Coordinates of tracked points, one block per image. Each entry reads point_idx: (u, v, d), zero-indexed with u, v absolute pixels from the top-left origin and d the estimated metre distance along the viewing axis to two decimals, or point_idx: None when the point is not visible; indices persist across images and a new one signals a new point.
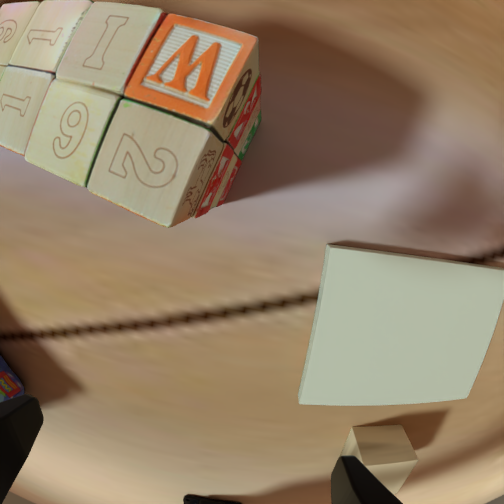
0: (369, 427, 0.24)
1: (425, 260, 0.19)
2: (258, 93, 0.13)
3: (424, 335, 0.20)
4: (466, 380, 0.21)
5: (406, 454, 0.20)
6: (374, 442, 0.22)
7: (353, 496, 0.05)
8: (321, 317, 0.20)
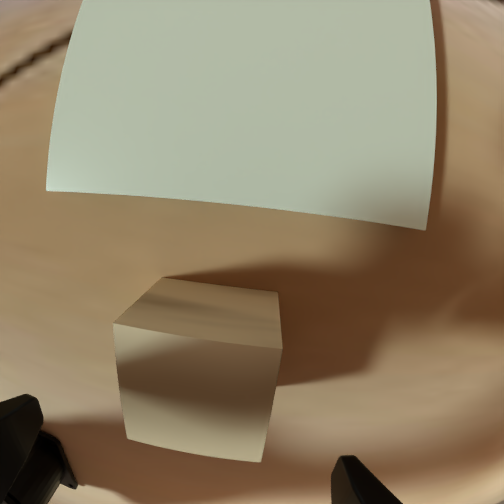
0: (198, 283, 0.13)
1: None
2: None
3: (254, 41, 0.10)
4: (409, 175, 0.11)
5: (251, 332, 0.09)
6: (185, 299, 0.11)
7: (353, 496, 0.05)
8: (74, 36, 0.10)
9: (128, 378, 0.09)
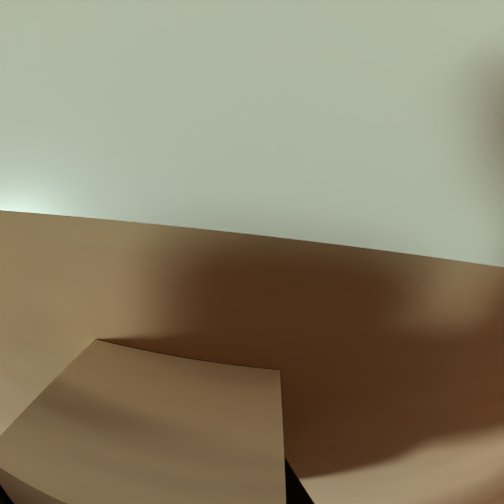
0: (146, 356, 0.07)
1: None
2: None
3: None
4: None
5: (225, 502, 0.04)
6: (114, 401, 0.06)
7: None
8: None
9: None
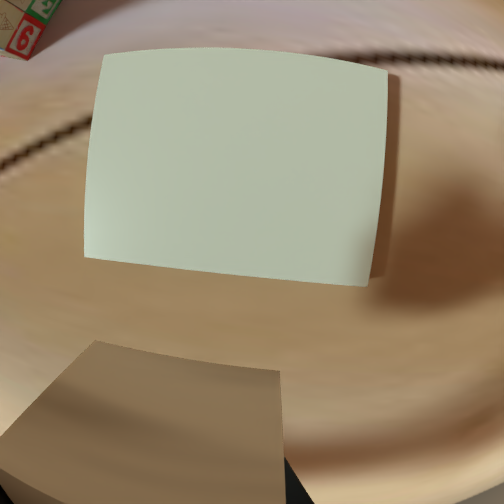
0: (146, 356, 0.07)
1: (220, 49, 0.14)
2: None
3: (238, 148, 0.15)
4: (355, 248, 0.16)
5: (225, 503, 0.04)
6: (114, 401, 0.06)
7: None
8: (94, 129, 0.15)
9: None
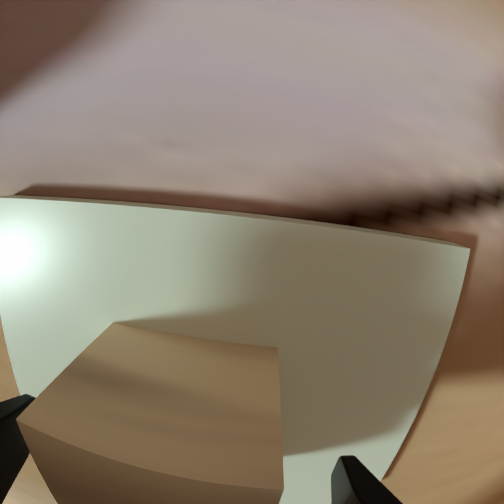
0: (160, 335, 0.09)
1: (162, 210, 0.08)
2: None
3: None
4: None
5: (231, 449, 0.05)
6: (134, 371, 0.07)
7: (353, 496, 0.05)
8: (4, 319, 0.09)
9: (56, 483, 0.04)
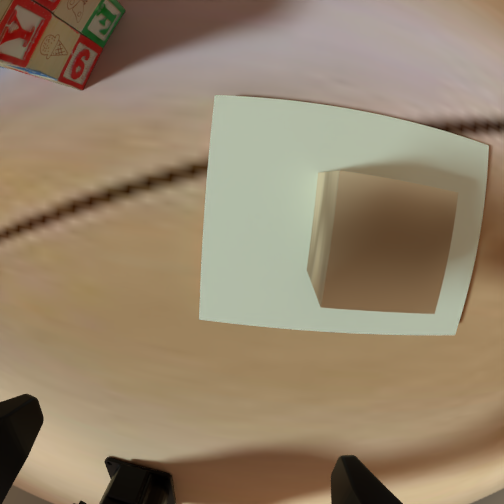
0: None
1: (351, 110, 0.15)
2: None
3: None
4: (451, 305, 0.17)
5: None
6: None
7: (353, 496, 0.05)
8: (210, 185, 0.16)
9: (343, 227, 0.11)
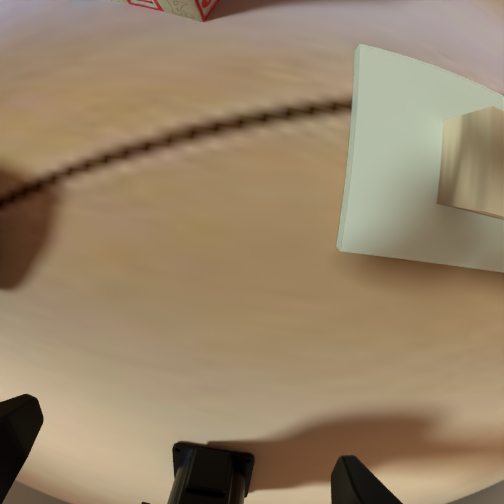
0: None
1: (460, 77, 0.14)
2: None
3: None
4: None
5: None
6: None
7: (353, 496, 0.05)
8: (360, 118, 0.15)
9: (498, 147, 0.10)
